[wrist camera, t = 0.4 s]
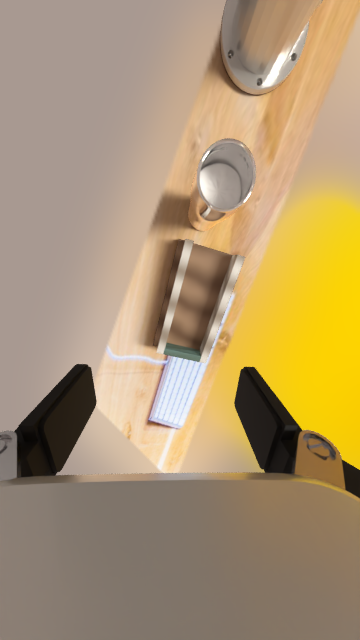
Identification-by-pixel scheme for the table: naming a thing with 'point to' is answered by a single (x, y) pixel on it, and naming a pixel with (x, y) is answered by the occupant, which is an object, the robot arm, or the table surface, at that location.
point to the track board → (195, 300)
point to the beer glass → (221, 183)
